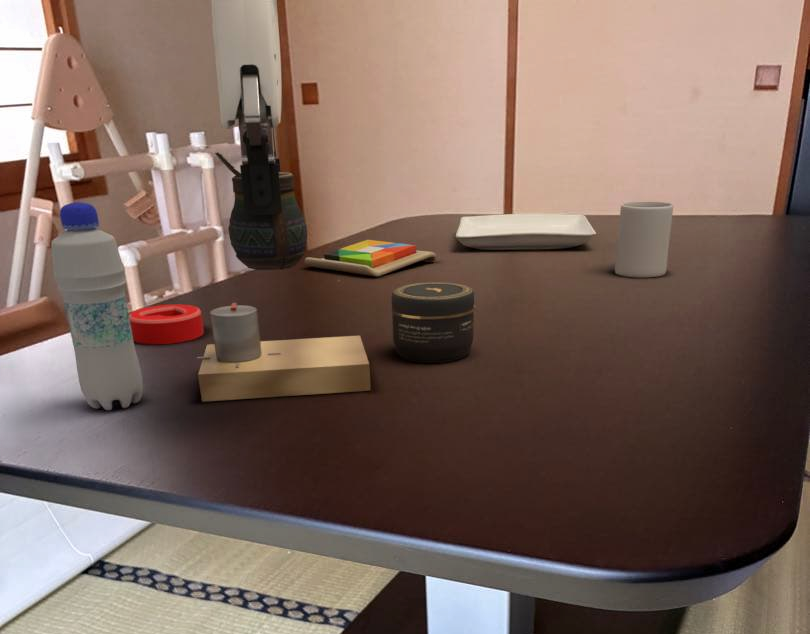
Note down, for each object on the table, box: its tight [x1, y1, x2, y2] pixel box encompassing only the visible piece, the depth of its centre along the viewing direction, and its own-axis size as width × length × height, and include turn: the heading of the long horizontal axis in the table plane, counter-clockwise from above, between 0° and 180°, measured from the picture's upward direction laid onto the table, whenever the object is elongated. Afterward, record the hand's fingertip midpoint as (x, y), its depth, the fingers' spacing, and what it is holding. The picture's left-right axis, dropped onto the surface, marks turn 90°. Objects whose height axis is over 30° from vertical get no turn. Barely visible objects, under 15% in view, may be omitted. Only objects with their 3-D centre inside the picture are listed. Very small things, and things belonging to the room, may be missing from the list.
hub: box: [209, 302, 262, 362], centre depth 92 cm, size 5×5×5 cm
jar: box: [390, 281, 476, 364], centre depth 101 cm, size 10×10×8 cm
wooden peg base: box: [196, 335, 371, 403], centre depth 94 cm, size 19×12×3 cm, turn 97°
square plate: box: [455, 213, 597, 251], centre depth 175 cm, size 27×27×4 cm
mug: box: [614, 201, 674, 279], centre depth 142 cm, size 12×8×11 cm
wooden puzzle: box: [304, 239, 437, 278], centre depth 155 cm, size 18×19×4 cm
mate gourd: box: [214, 151, 308, 271], centre depth 76 cm, size 7×8×10 cm
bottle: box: [50, 201, 144, 411], centre depth 84 cm, size 7×7×20 cm
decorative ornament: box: [129, 303, 205, 345], centre depth 114 cm, size 10×10×3 cm
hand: (265, 207), depth 76 cm, fingers closed on mate gourd, 6 cm apart
